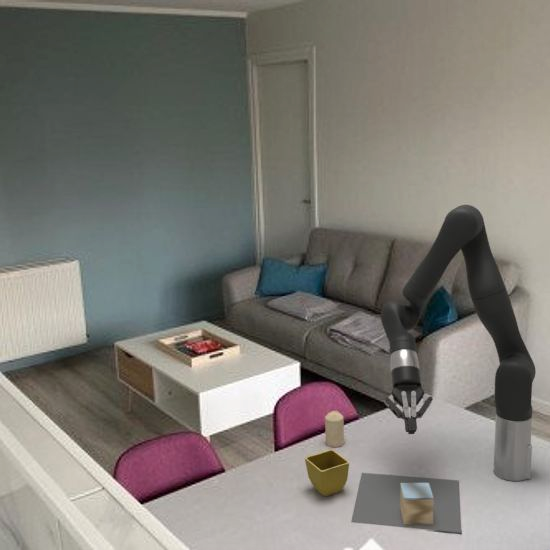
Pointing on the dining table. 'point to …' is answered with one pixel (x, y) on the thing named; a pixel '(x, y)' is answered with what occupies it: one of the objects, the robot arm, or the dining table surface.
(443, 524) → the mat
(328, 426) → the candle
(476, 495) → the dining table surface
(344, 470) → the flower pot
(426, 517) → the cube
